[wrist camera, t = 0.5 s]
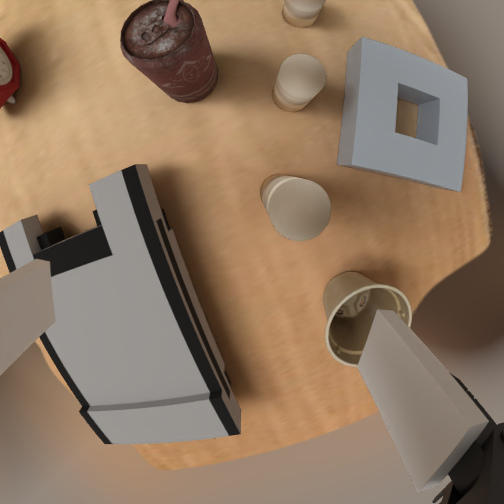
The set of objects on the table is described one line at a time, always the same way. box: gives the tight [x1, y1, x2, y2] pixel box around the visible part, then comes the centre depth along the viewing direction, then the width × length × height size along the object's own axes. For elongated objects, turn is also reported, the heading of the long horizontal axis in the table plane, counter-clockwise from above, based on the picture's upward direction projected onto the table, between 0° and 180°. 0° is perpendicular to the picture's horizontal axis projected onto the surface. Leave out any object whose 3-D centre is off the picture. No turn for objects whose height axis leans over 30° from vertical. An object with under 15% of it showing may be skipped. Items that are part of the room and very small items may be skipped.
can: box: [120, 0, 218, 103], centre depth 22 cm, size 6×6×14 cm
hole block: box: [337, 37, 468, 192], centre depth 28 cm, size 14×14×5 cm
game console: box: [0, 164, 241, 444], centre depth 33 cm, size 21×32×8 cm, turn 16°
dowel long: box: [260, 174, 331, 241], centre depth 26 cm, size 4×4×14 cm
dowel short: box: [282, 0, 325, 28], centre depth 24 cm, size 4×4×5 cm
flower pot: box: [323, 272, 412, 367], centre depth 32 cm, size 9×9×9 cm
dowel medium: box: [272, 54, 327, 112], centre depth 26 cm, size 4×4×8 cm
